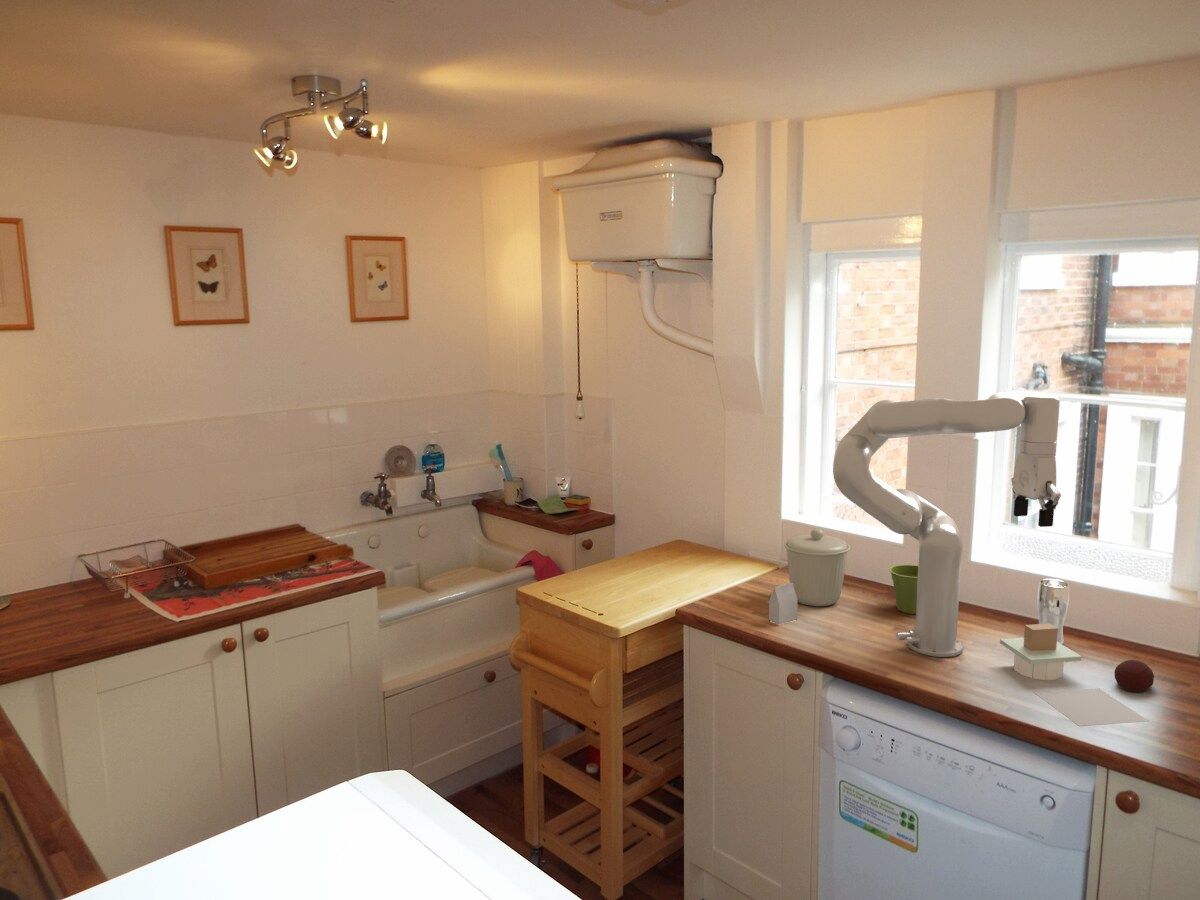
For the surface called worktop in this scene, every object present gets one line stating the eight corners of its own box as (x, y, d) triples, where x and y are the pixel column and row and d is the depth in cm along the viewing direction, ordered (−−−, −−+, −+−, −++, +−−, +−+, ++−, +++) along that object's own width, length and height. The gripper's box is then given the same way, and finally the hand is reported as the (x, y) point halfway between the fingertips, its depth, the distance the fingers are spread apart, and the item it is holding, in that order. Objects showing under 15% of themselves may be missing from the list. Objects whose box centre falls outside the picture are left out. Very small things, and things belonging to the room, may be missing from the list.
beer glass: (1069, 647, 215) (1074, 588, 212) (1038, 645, 216) (1042, 586, 214) (1060, 636, 222) (1065, 579, 219) (1030, 634, 223) (1035, 577, 220)
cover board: (1030, 664, 193) (1032, 638, 192) (999, 643, 205) (1001, 618, 204) (1081, 660, 195) (1083, 635, 194) (1047, 640, 206) (1049, 615, 205)
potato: (1107, 690, 191) (1109, 664, 190) (1122, 676, 198) (1124, 650, 197) (1145, 701, 186) (1148, 674, 185) (1159, 686, 193) (1161, 660, 192)
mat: (1078, 728, 175) (1079, 725, 175) (1034, 694, 190) (1034, 692, 190) (1148, 723, 177) (1148, 720, 176) (1099, 690, 191) (1099, 688, 191)
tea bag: (796, 620, 235) (797, 584, 234) (778, 626, 232) (779, 589, 230) (786, 616, 238) (787, 581, 237) (768, 621, 235) (769, 586, 233)
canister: (856, 596, 253) (858, 525, 249) (836, 616, 238) (839, 540, 234) (795, 586, 262) (797, 518, 259) (773, 604, 247) (774, 532, 244)
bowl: (1030, 683, 195) (1031, 661, 195) (1005, 664, 205) (1006, 644, 204) (1071, 680, 196) (1073, 659, 196) (1044, 662, 206) (1046, 642, 205)
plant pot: (922, 601, 248) (924, 563, 246) (940, 616, 236) (942, 576, 234) (881, 602, 247) (882, 564, 246) (896, 618, 236) (898, 577, 234)
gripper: (1001, 442, 209) (996, 512, 212) (1045, 455, 192) (1039, 531, 195) (1030, 441, 210) (1026, 511, 213) (1077, 454, 193) (1071, 529, 196)
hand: (1032, 520), depth 204 cm, fingers open, 9 cm apart
